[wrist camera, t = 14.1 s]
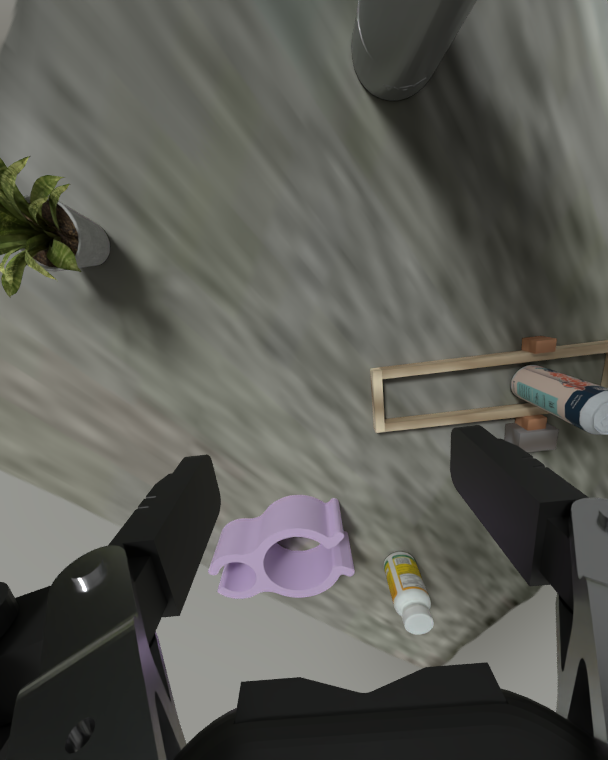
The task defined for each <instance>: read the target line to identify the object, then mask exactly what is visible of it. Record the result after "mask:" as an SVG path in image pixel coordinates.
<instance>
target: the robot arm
mask: <svg viewBox="0 0 608 760" xmlns="http://www.w3.org/2000/svg"><path fill="white" fill-rule="evenodd" d="M476 1H477V0H359V2H358V7H357V13H356V18H355V24H354V29H353V35H352V44H351V48H352V60H353V64H354V68H355V71H356V73H357V76H358V78H359V80H360V81H361V83H362V84H363V85H364V87H365V88H366V89H367V90H368V91H369V92H370V93H372V94H373V95H375V96H377V97H379V98H380V99H385V100H389V101H393V100H401V99H405V98H408V97H410V96H412V95H413V94H415V93H417V92H418V91H419V90H420V89H421V88H422V87H424V86H425V84H426V83H427V82H428V81H429V79H430V78H431V77H432V75H433V73H434V72H435V70H436V68H437V66H438V65H439V63H440V61H441V60H442V58H443V56H444V55H445V53H446V51H447V50H448V48H449V47H450V45H451V43H452V41H453V40H454V38H455V36H456V35H457V33H458V31H459V30H460V28H461V26H462V25H463V23H464V21H465V20H466V18H467V16H468V14H469V13H470V11H471V9H472V8H473V6H474V4H475V3H476ZM450 472H451V478H452V481H453V484H454V486H455V488H456V490H457V491H458V492H459V494H460V495H461V496H462V498H463V499H464V500H465V502H466V503H467V504H468V506H469V507H470V508H471V510H472V511H473V512H474V514H475V515H476V516H477V518H478V519H479V520H480V522H481V523H482V524H483V526H484V527H485V528H486V530H487V531H488V532H489V533H490V535H491V536H492V537H493V539H494V540H495V541H496V543H497V544H498V545H499V547H500V548H501V549H502V551H503V552H504V553H505V555H506V556H507V557H508V559H509V560H510V561H511V563H512V564H513V565H514V567H515V568H516V569H517V571H518V572H519V573H520V574H521V576H522V577H523V578H524V580H525V581H526V582H527V584H528V585H529V586H539V585H550V584H551V586H552V587H553V588H554V589H555V590H556V592H557V597H556V637H557V669H558V670H557V673H558V694H557V708H556V712H554V711H553V710H551V709H549V708H547V707H546V706H543V705H541V704H539V703H537V702H535V701H533V700H531V699H529V698H527V697H524V696H522V695H519V694H516V693H513V692H511V691H508V690H504V689H500V687H499V685H498V683H497V681H496V679H495V677H494V675H493V673H492V671H491V669H490V667H489V665H488V663H474V664H462V665H449V666H436V667H425V668H423V669H421V670H419V671H416V672H414V673H412V674H410V675H407V676H405V677H403V678H401V679H398V680H396V681H394V682H392V683H390V684H387V685H385V686H383V687H381V688H378V689H376V690H374V691H372V692H369V693H359V692H355V691H351V690H347V689H343V688H339V687H336V686H331V685H328V684H324V683H320V682H316V681H312V680H309V679H304V678H301V677H297V678H284V679H272V680H259V681H246V682H241V686H240V692H239V699H238V704H237V708H235V709H233V710H231V711H229V712H227V713H226V714H224V715H222V716H221V717H219V718H218V719H216V720H214V721H213V722H212V723H210V724H209V725H208V726H207V727H205V728H204V729H203V730H202V731H200V732H199V733H198V734H197V735H196V736H195V737H194V738H193V739H192V740H191V741H190V742H189V743H187V744H186V741H185V738H184V735H183V732H182V729H181V725H180V723H179V719H178V715H177V712H176V708H175V704H174V700H173V696H172V692H171V688H170V684H169V680H168V676H167V671H166V667H165V663H164V659H163V655H162V651H161V647H160V643H159V639H158V636H157V634H156V629H157V626H158V624H159V622H160V620H161V617H171V616H180V613H181V611H182V608H183V606H184V603H185V601H186V598H187V595H188V593H189V590H190V588H191V585H192V582H193V580H194V577H195V575H196V572H197V569H198V567H199V564H200V562H201V559H202V556H203V554H204V551H205V549H206V546H207V543H208V541H209V538H210V536H211V533H212V530H213V528H214V525H215V523H216V520H217V517H218V515H219V512H220V505H221V498H220V492H219V488H218V484H217V480H216V476H215V472H214V468H213V464H212V460H211V458H210V456H209V455H199V456H190V457H185V458H183V460H182V461H181V462H180V464H179V465H178V467H177V468H176V469H175V471H174V472H173V473H172V474H168V475H167V476H166V477H164V478H163V479H162V480H160V481H159V482H158V483H157V484H155V485H154V487H153V488H152V489H151V491H150V492H149V493H148V494H147V496H146V499H144V500H143V501H142V502H141V504H140V505H139V506H138V509H136V510H135V511H134V513H133V514H132V515H131V517H130V518H129V519H128V520H127V522H126V523H125V524H124V526H123V527H122V528H121V529H120V531H119V532H118V533H117V535H116V536H115V537H114V539H113V540H112V541H111V542H110V544H109V545H108V546H104V547H100V548H97V549H94V550H92V551H90V552H88V553H86V554H84V555H82V556H81V557H79V558H78V559H76V560H75V561H73V562H72V563H71V564H69V565H68V566H67V567H66V568H65V569H64V570H63V571H62V572H61V573H60V574H59V575H58V576H57V577H56V578H55V580H54V581H53V583H52V585H51V586H48V587H45V588H43V589H40V590H37V591H34V592H31V593H28V594H25V595H23V596H20V597H17V598H15V597H14V596H13V594H12V592H11V590H10V589H9V587H8V585H7V584H6V583H4V582H0V760H608V499H602V498H589V497H587V496H586V495H585V494H583V493H582V492H581V491H579V490H578V489H576V488H575V487H574V486H572V485H571V484H570V483H568V482H567V481H565V480H564V479H563V478H561V477H560V476H559V475H557V474H556V473H555V472H553V471H552V470H550V469H549V468H548V467H546V468H545V466H544V464H542V463H541V462H540V461H538V460H537V459H533V456H531V455H530V454H529V453H527V452H526V451H525V450H523V449H522V448H520V447H519V446H517V445H515V444H512V443H510V442H507V441H505V440H503V439H497V438H496V437H495V436H493V435H492V434H491V433H489V432H488V431H487V430H486V429H484V428H483V427H482V426H480V425H475V426H466V427H457V428H453V430H452V432H451V460H450Z"/></svg>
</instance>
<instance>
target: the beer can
mask: <svg viewBox="0 0 608 760" xmlns="http://www.w3.org/2000/svg"><path fill="white" fill-rule="evenodd" d="M511 390H512V392H513V393H514V395H516V396H517V397H519V398H521V399H523V400H525V401H527V402H529V403H531V404H533V405H535V406H536V407H538V408H540V409H542V410H544V411H546V412H548V413H550V414H552V415H554V416H556V417H558V418H560V419H562V420H564V421H566V422H568V423H570V424H572V425H574V426H576V427H578V428H580V429H582V430H584V431H586V432H588V433H591V434H605V435H607V434H608V388H605V387H602V386H599V385H596V384H593V383H590V382H587V381H584V380H581V379H578V378H575V377H572V376H568V375H565V374H562V373H559V372H556V371H553V370H550V369H547V368H544V367H541V366H537V365H528V366H525V367H523V368H521V369H520V370H518V371H517V372H516V373H515V375H514V376H513V378H512V380H511Z"/></svg>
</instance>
